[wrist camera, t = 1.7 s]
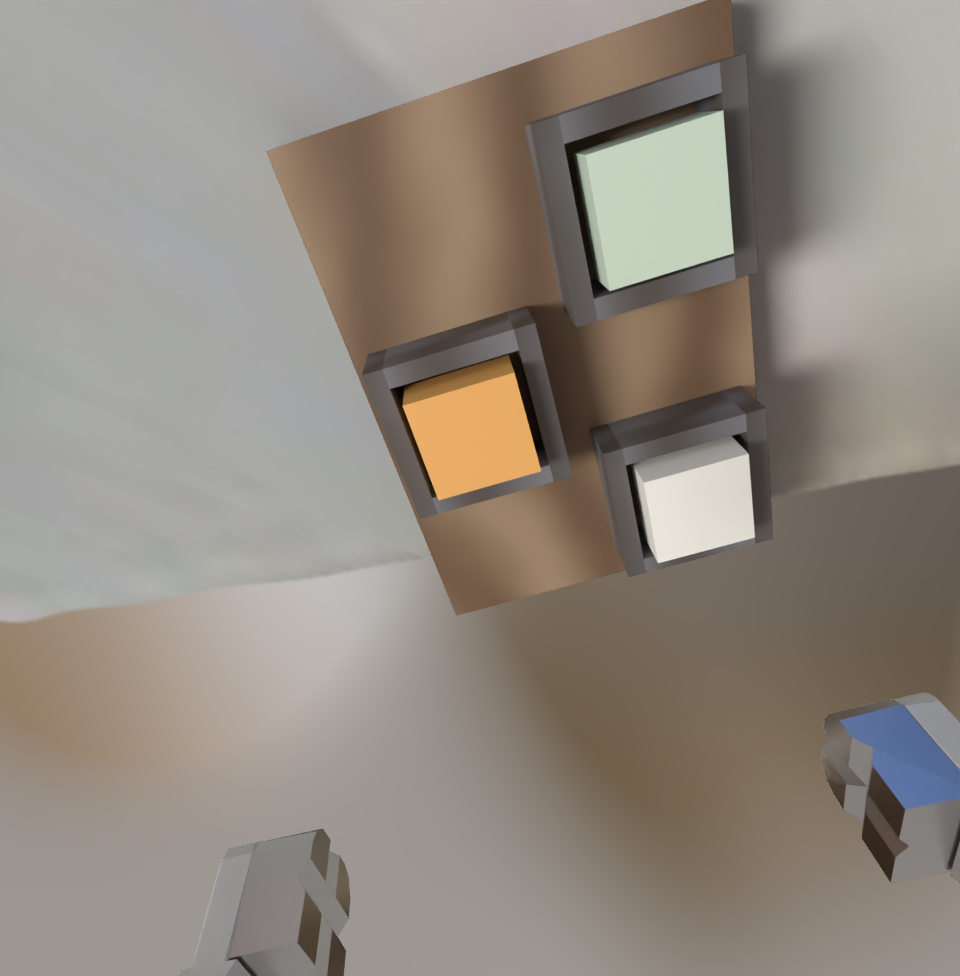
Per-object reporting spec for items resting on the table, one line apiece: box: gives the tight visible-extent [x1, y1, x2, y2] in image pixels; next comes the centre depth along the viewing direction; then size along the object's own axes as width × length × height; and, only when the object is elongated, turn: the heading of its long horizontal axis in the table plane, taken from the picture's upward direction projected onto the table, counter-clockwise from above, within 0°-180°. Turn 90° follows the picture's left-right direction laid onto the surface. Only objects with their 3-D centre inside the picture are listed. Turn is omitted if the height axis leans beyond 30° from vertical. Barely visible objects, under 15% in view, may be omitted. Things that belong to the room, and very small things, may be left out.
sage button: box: [573, 110, 734, 291], centre depth 21 cm, size 4×4×2 cm
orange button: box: [403, 355, 541, 500], centre depth 24 cm, size 4×4×2 cm
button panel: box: [266, 0, 773, 615], centre depth 26 cm, size 16×22×4 cm
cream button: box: [631, 436, 755, 563], centre depth 27 cm, size 4×4×2 cm
